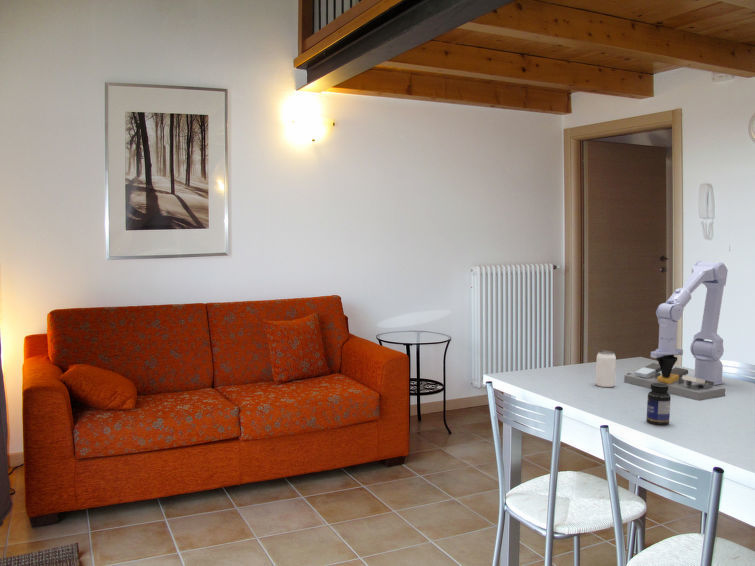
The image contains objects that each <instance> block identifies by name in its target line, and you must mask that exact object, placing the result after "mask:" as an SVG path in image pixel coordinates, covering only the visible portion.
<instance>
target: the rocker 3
mask: <svg viewBox="0 0 755 566" xmlns="http://www.w3.org/2000/svg"><path fill="white" fill-rule="evenodd" d="M681 378H682V379H684V380H688V381H692V382H697V383H701V384H706V383H709V385H710V386H715V385H714V382H711V381H707V380H703V379H699V378H694V377H693V376H689V375H683V377H681Z"/></svg>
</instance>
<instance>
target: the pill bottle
mask: <svg viewBox="0 0 755 566" xmlns="http://www.w3.org/2000/svg"><path fill="white" fill-rule="evenodd" d="M650 389H651V390H650V391H649V392H648V393H647V400H646V401H647V403H646V422H648V423H649V424H652V425H657V426H666V425H668V424H669V423H670V418H671V417H670V415H671V414H670V413H671V393H667V391H668V385H666V384H662V383H652V384H651V388H650Z"/></svg>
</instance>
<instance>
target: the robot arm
mask: <svg viewBox="0 0 755 566" xmlns="http://www.w3.org/2000/svg"><path fill="white" fill-rule="evenodd" d="M728 272H729V271H728V267H727V266H726V264H725V263H724V262H721V261H720V262H715V261H713V262H711V261H702V260H699V261H698V260H697V261H696V262H695V263H694V264H693V266H692V267H691V274H690V275H689V277H688V279H687V280H686V281H685V283H684V284H683V286H682V288H681V287H679V288H676V289H675V290H674V292H672V294H671V295H670V297H668V299H667V300H666V301H665V302H662V303H660V304H659V305H658V307H657V309H656V311H655V315H656V317H657V324H658V325H659V328H658V348H656V349H655V350H653V351H650V358H653V359H656V360H657V364H659V365H660V368H661V371H660V373H661V374H662V377H667V378H668V377H670V374H671V371H672V369H673V368H674V367H675V366H674V365H675V364H676V363H677V361H678V357H677V356H683V355H684V349H682V348H677V344H678V343H677V341H678V338H677V337H678V322H679V320H681V318H682V316H683V312H684V308H685V307H686V306H687V305H688V303H689V302H690V301H691V300H692V293H693V292H695V291H696V290H697V288H698V287H700V286H701V284H702V285H704V286H705V287H706V295H705V301H704V307H703V315H702V321H701V327H700V331H699V332H697V333H695V334H694V335H693V338H692V339H693V340H692V342H691V343H690V349H689V350H690V353H691V355H692V356H693V358H694V361H695V362H694V378H699V379H703V380H707V381H711V382H714V385H713V386H717V385H718V386H719V385H722V384H725V382H724V381H723V371H724V370H723V369H724V367H723V363H722V361H721V360H720V359H721V358H722V357H723V354H724V339H723V338H722V337H721V336H720V335H719V334H718V329H719V328H718V327H719V321H720V316H721V315H720V314H721V309H722V308H721V307H722V302H723V294H724V287H726V284H727V278H728Z"/></svg>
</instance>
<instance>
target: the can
mask: <svg viewBox="0 0 755 566" xmlns="http://www.w3.org/2000/svg"><path fill="white" fill-rule="evenodd" d="M616 364H617V357H616V354H615V352H614V351H610V350H598V351H597V354H596V363H595V366H596V367H595V385H596V386H597V387H600V388H607V389H608V388H614V387H615V386H616V366H617V365H616Z"/></svg>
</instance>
